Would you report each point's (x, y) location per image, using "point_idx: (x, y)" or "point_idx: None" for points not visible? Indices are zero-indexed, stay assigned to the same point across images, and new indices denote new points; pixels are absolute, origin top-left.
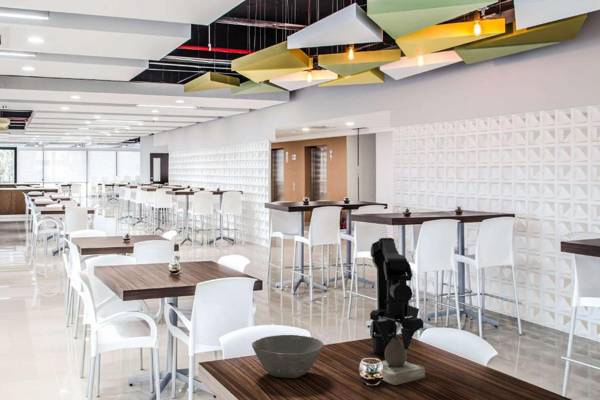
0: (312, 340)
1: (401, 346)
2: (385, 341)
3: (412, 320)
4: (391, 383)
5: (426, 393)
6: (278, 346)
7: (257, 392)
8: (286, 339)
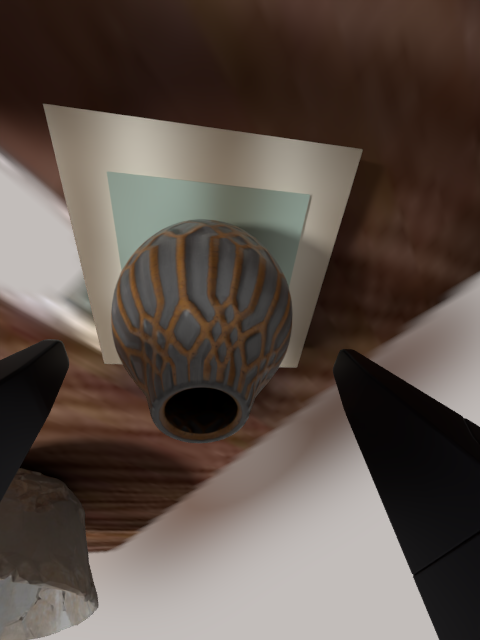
0: None
1: (280, 357)
2: (59, 370)
3: None
4: None
5: (412, 318)
6: None
7: (122, 536)
8: None
